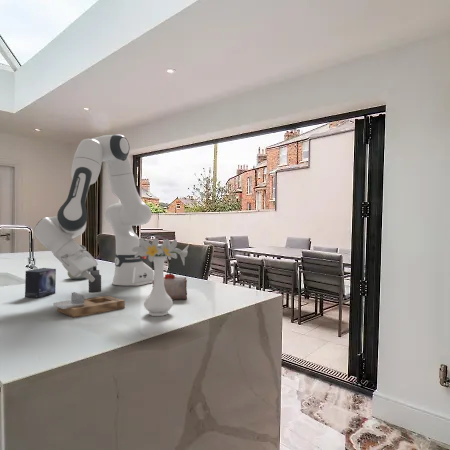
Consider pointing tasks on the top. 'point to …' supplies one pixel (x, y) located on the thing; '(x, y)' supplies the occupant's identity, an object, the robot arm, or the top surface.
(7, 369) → the top surface
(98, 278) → the bottle
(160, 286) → the flower vase
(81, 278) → the air freshener
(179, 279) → the food item
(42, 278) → the small box
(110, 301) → the socket
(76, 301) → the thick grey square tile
